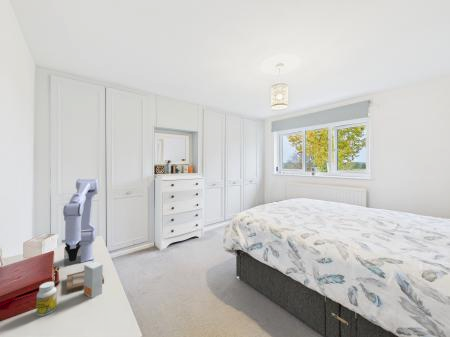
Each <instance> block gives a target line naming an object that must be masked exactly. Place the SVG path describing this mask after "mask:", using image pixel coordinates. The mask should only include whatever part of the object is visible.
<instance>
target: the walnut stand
mask: <svg viewBox="0 0 450 337" xmlns="http://www.w3.org/2000/svg"><path fill="white" fill-rule="evenodd" d="M103 274H104V273H102V285H103V284H105V277H104V275H103ZM82 290H84V270H83V271H80V272H79V271H78V272H74V273H70V274H67V275H66V295H68V294H71V293H74V292H76V293H77V292H79V291H82Z"/></svg>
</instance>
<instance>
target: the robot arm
mask: <svg viewBox="0 0 450 337" xmlns="http://www.w3.org/2000/svg"><path fill="white" fill-rule="evenodd" d="M99 185H100V184H99V180H98V179H97V178H94V179H93V178H92V179H89V178H88V179H86V178H84V179H83V178H79V179H77V180H76V182H75V188H76V193H74V194H72V196H71V198H70V200H69V202H68V203H67V204H65V205H63V209H62V210H63V212H62V214H63V216H64V218H63V220H64V222H65V225H64V226H65V227H64V231H65V232H64V235H65V236H64V239H62V240H61V243H62V244H63V243H64V244H65V246H64V248H65V250H66V251H67V253H68V257H69V261H70V262H72V261H76V257H77V253H78V250H79V248H80V247H81V263H85V262H88V261H89V262H90V261H92V260H94V259H95V258H94V253H93V246H94V245H93V242H95V241H96V239H97V228H96V226H94V225H93V224H92V214H93V204H94V198H95V196H96V195H97V194H98V192H99Z"/></svg>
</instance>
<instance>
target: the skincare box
mask: <svg viewBox="0 0 450 337" xmlns="http://www.w3.org/2000/svg"><path fill="white" fill-rule="evenodd" d="M83 267H84V268H83V271H84V289H83V294H84V295H85V296H87V297H89V298H91V299H94V298H95V297H96V298H97V296H99V295H102V294H103V284H102V274H103V267H104V266H103V264H102V263H100V262H98V261H96V260H94V261H90V262H87V263H86V264H84V266H83Z"/></svg>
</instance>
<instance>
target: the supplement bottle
mask: <svg viewBox="0 0 450 337" xmlns="http://www.w3.org/2000/svg"><path fill="white" fill-rule="evenodd" d="M38 289H39V290H38V292H37V293H36V315H37V316H39V317H43V316H47V315H50V314H52V313H53V312H54V311H55V310H56V309H57V306H58V298H57V297H58V293H57V292H58V289H57V287H56V286H55V282H54V281H46V282H43V283H42V284H40V285H39V287H38Z"/></svg>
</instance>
